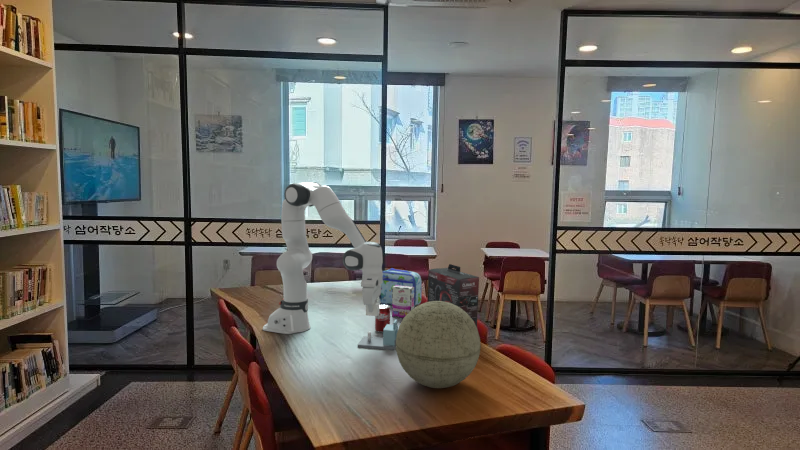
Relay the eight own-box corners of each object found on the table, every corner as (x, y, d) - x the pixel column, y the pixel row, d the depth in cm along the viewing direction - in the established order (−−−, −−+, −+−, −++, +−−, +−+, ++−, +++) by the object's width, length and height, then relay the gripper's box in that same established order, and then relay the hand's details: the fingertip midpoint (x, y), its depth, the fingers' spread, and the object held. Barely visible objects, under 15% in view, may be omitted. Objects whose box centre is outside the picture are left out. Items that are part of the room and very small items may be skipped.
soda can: (388, 333, 219) (388, 308, 217) (373, 332, 220) (373, 307, 219) (391, 328, 226) (391, 304, 225) (377, 327, 227) (377, 303, 226)
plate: (357, 347, 200) (357, 335, 199) (363, 338, 211) (363, 327, 210) (393, 350, 197) (393, 338, 197) (398, 341, 208) (398, 330, 208)
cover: (383, 344, 199) (383, 323, 198) (386, 338, 207) (387, 317, 206) (394, 345, 198) (394, 323, 198) (397, 339, 206) (397, 318, 206)
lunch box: (375, 303, 272) (376, 268, 270) (385, 299, 281) (386, 265, 280) (413, 310, 259) (414, 273, 257) (422, 306, 268) (423, 271, 266)
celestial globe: (417, 411, 145) (419, 318, 142) (382, 374, 172) (383, 295, 170) (496, 395, 157) (499, 309, 154) (452, 362, 184) (454, 289, 182)
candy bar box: (414, 316, 247) (414, 286, 245) (410, 319, 242) (411, 288, 241) (395, 314, 251) (395, 284, 249) (391, 316, 246) (391, 286, 245)
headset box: (478, 338, 213) (480, 268, 210) (457, 343, 207) (459, 271, 204) (445, 324, 234) (447, 260, 231) (425, 328, 227) (427, 262, 224)
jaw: (365, 315, 201) (365, 304, 200) (368, 312, 206) (368, 301, 205) (377, 315, 200) (377, 304, 200) (379, 312, 205) (379, 301, 205)
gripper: (370, 274, 212) (370, 303, 214) (359, 283, 192) (359, 316, 193) (384, 274, 211) (384, 304, 213) (374, 284, 191) (374, 316, 192)
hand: (372, 309), depth 203 cm, fingers closed on jaw, 5 cm apart
